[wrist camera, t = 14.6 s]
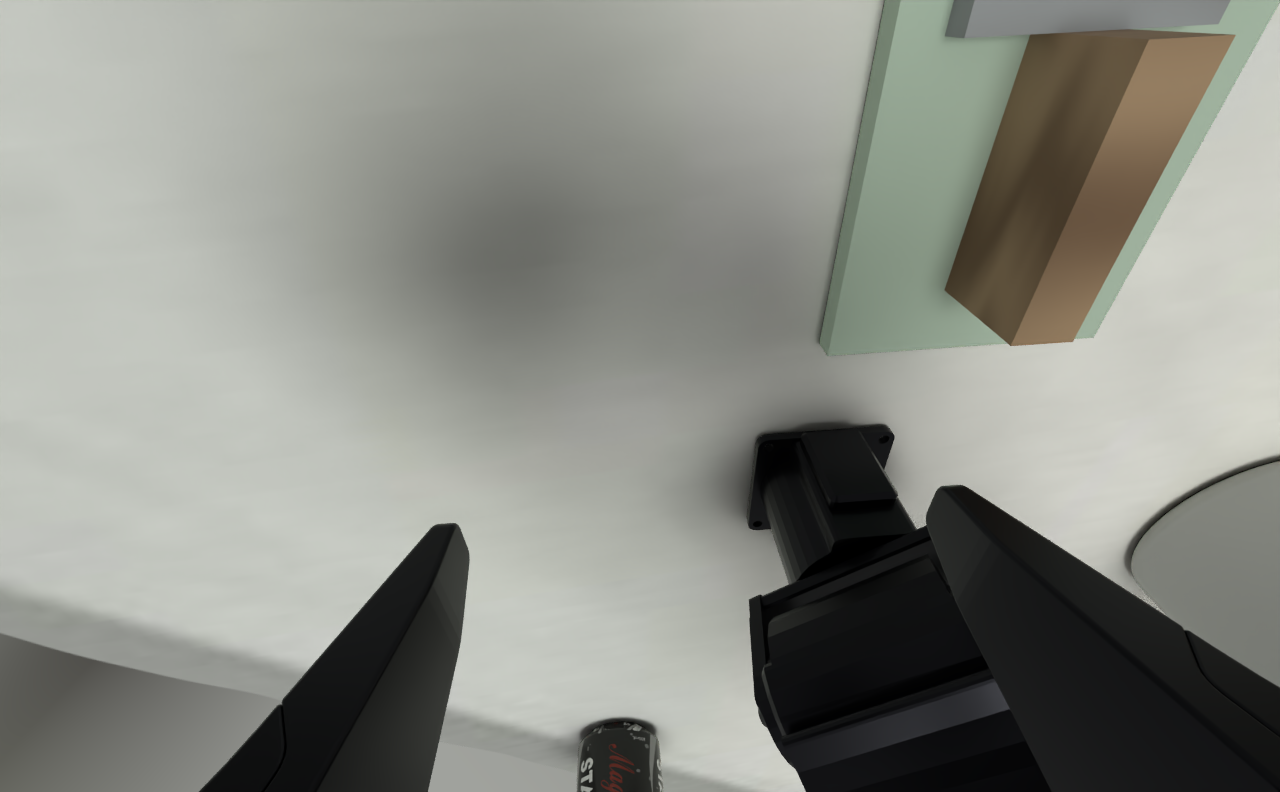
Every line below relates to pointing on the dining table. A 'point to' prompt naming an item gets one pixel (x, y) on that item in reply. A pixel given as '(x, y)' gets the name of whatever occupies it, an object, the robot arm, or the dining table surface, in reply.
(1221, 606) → the cylinder vase
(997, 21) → the spatula
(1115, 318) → the dining table surface
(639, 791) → the beverage can
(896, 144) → the mat
